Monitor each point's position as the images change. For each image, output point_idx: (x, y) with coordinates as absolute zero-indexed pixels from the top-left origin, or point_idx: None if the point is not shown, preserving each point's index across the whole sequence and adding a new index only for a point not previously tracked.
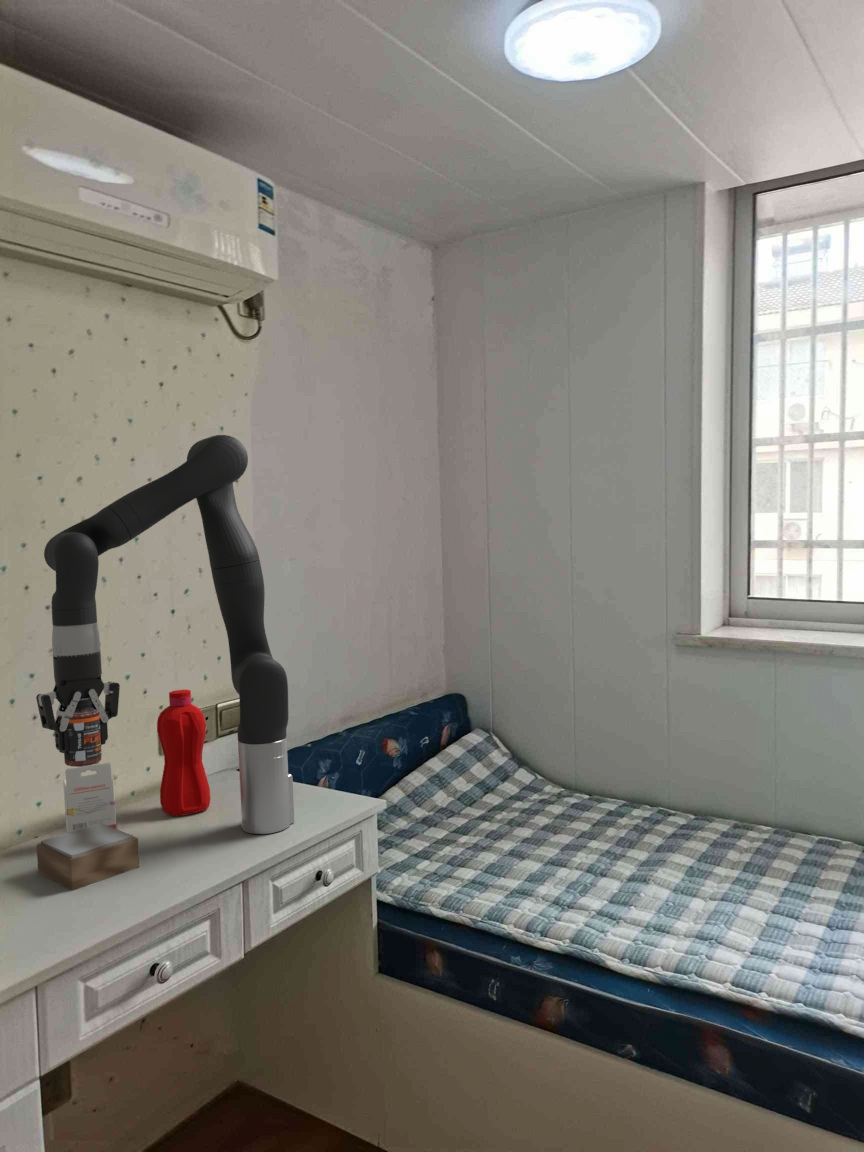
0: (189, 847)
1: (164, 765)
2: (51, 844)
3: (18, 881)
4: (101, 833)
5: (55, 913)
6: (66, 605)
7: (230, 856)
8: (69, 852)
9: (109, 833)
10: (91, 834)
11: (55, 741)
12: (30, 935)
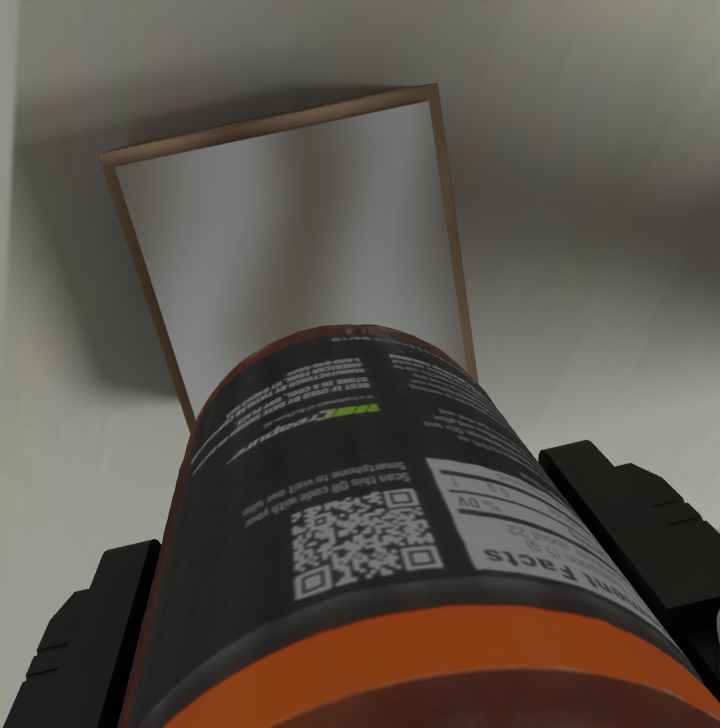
0: (657, 284)
1: None
2: (153, 254)
3: (46, 183)
4: (378, 263)
5: (128, 534)
6: None
7: (692, 449)
8: (201, 409)
9: (405, 287)
10: (339, 243)
11: (27, 676)
12: (46, 623)
